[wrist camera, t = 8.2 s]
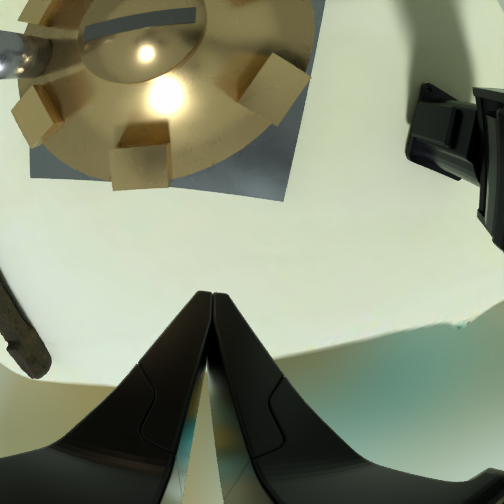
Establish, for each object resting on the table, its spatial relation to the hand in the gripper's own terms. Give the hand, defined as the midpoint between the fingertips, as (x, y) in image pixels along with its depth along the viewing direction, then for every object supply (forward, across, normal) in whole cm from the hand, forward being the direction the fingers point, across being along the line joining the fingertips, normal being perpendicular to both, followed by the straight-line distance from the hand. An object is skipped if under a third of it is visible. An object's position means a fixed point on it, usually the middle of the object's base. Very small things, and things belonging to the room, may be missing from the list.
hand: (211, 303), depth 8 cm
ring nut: (+10, +5, -9) cm, 14 cm away
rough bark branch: (+12, +21, +14) cm, 28 cm away
